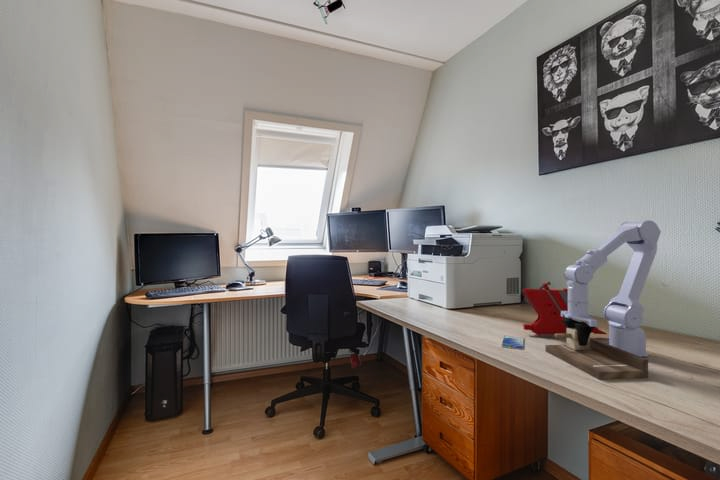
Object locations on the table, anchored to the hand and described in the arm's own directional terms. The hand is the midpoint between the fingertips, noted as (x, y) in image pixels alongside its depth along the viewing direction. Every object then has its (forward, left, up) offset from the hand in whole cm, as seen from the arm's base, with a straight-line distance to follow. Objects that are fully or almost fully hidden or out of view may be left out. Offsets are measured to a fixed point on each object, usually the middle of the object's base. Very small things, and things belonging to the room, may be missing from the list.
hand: (577, 343), depth 115 cm
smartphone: (+15, -14, -4) cm, 21 cm away
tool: (-9, -21, -4) cm, 23 cm away
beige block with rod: (+3, 0, -1) cm, 3 cm away
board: (+2, +8, -4) cm, 9 cm away
